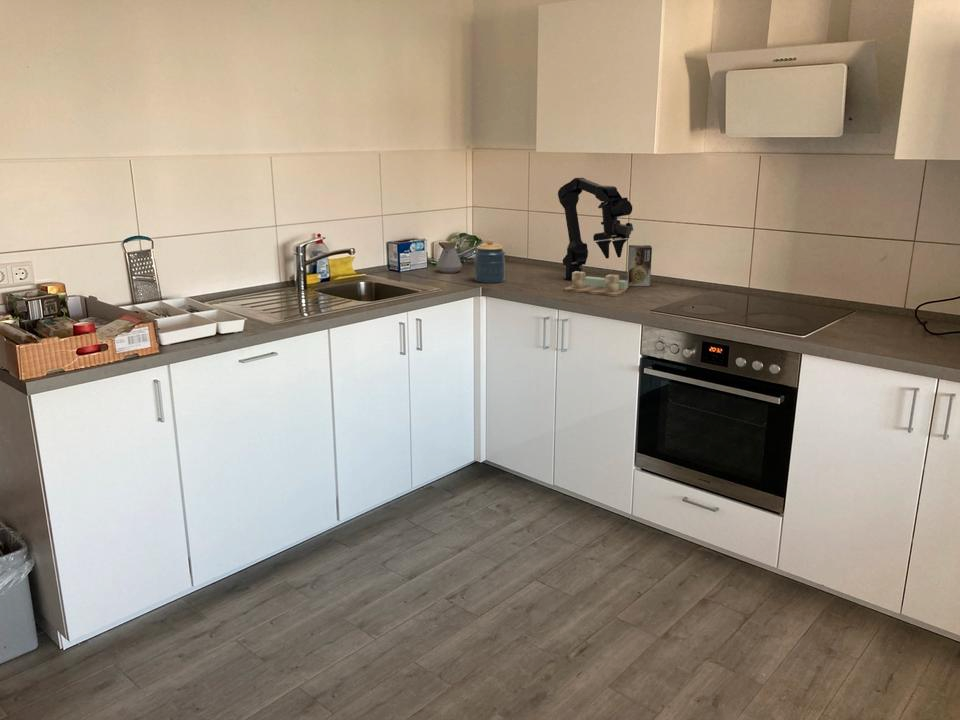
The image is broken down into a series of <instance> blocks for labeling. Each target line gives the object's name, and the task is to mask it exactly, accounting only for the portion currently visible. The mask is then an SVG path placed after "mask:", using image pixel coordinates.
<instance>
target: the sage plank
mask: <svg viewBox="0 0 960 720" xmlns="http://www.w3.org/2000/svg"><path fill="white" fill-rule="evenodd" d="M605 279H606V277H605V278H604V277H598V276H597V277H596V276H588V275H587V276H585V285H590V286H597V287H605ZM627 288H628V289H629V286H628V281H627V280H625V279H623V280H622V279H619V286H618V289H626V290H628V289H627Z"/></svg>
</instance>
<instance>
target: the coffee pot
mask: <svg viewBox="0 0 960 720" xmlns="http://www.w3.org/2000/svg"><path fill="white" fill-rule="evenodd" d="M437 245H439V247H440V248H441V249H442V250H441V252H440V253H441V254H440V256H439V258H438V260H437V263H436V268H437V270H438V271H439V272H440V273H443V274H454V273H455V274H456V273H458V272H459V271H460V270H461V269H462V266H463V264H462V262H461V260H460V257H459V255H458V253H457V250H456V245H457V242H438V243H437Z"/></svg>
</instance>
